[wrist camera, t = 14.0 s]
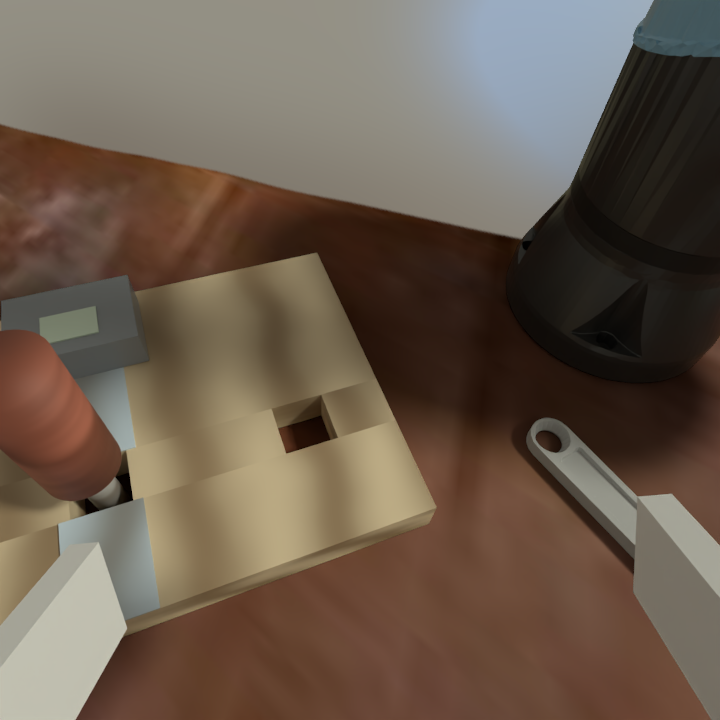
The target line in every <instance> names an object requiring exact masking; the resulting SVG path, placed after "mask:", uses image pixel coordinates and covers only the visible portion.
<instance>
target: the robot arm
mask: <svg viewBox="0 0 720 720" xmlns="http://www.w3.org/2000/svg"><path fill="white" fill-rule="evenodd" d="M633 36H634V39H633V42H634V43H633V46H632V48H631V50H630V52H629V54H628V57H627V59H626V61H625V63H624V66H623V68H622V70H621V73H620V75H619V77H618V79H617V82H616V84H615V86H614V89H613V91H612V93H611V95H610V98H609V100H608V102H607V104H606V106H605V109H604V111H603V113H602V116H601V118H600V120H599V122H598V125H597V127H596V129H595V132H594V134H593V136H592V138H591V141H590V143H589V145H588V148H587V150H586V152H585V154H584V156H583V159H582V161H581V164H580V166H579V168H578V170H577V172H576V175H575V177H574V179H573V181H572V183H571V185H570V187H569V188H568V190H567V191H566V192H565V193H564V194H563V195H562V196H561V197H560V198H559V199H558V200H557V201H556V202H555V203H554V204H553V206H552V207H551V208H550V209H549V210H548V211H547V212H546V213H545V214H544V215H543V216H542V217H541V218H540V219H539V221H538V222H537V223H536V224H535V225H534V226H533V227H532V228H531V229H530V230H529V231H528V232H527V233H526V235H525V236H524V237H523V239H522V240H521V241H520V243H519V245H518V247H517V249H516V251H515V254H514V256H513V259H512V261H511V264H510V266H509V269H508V272H507V277H506V291H507V297H508V300H509V303H510V306H511V308H512V311H513V313H514V315H515V316H516V318H517V320H518V321H519V323H520V324H521V326H522V327H523V328H524V329H525V331H526V332H527V333H528V334H529V335H530V336H531V337H532V338H533V339H534V340H535V341H536V342H537V343H538V344H539V345H540V346H541V347H543V348H544V349H545V350H546V351H548V352H549V353H551V354H552V355H553V356H555V357H557V358H558V359H560V360H561V361H563V362H565V363H567V364H568V365H570V366H572V367H574V368H577V369H579V370H581V371H584V372H586V373H589V374H592V375H595V376H598V377H601V378H605V379H609V380H614V381H621V382H630V383H649V382H657V381H662V380H666V379H670V378H673V377H675V376H678V375H680V374H682V373H684V372H685V371H687V370H688V369H690V368H691V367H692V366H693V365H694V364H695V363H696V362H697V361H698V360H699V359H700V358H701V357H702V356H703V355H704V354H705V353H706V352H707V351H708V350H709V349H710V348H711V347H712V346H713V345H714V343H715V342H716V341H717V339H718V338H719V336H720V0H654V1H653V3H652V5H651V7H650V9H649V11H648V13H647V15H646V17H645V18H644V19H643V20H642V21H641V22H640V23H639V25H638V26H637V28H636V30H635V32H634V35H633ZM633 593H634V594H635V596H636V598H637V599H638V601H639V603H640V604H641V606H642V607H643V609H644V611H645V612H646V614H647V616H648V617H649V619H650V620H651V622H652V624H653V625H654V627H655V629H656V630H657V632H658V633H659V635H660V637H661V638H662V640H663V642H664V643H665V645H666V646H667V648H668V650H669V651H670V653H671V655H672V656H673V658H674V660H675V661H676V663H677V664H678V666H679V668H680V669H681V671H682V673H683V674H684V676H685V677H686V679H687V681H688V682H689V684H690V686H691V687H692V689H693V690H694V692H695V694H696V695H697V697H698V699H699V700H700V702H701V703H702V705H703V707H704V708H705V710H706V712H707V713H708V715H709V716H710V718H711V720H720V545H719V544H718V543H717V542H716V541H715V540H714V539H713V538H712V537H711V536H710V535H709V534H708V532H707V531H706V530H705V529H704V528H703V527H702V526H701V525H700V524H699V523H698V522H697V521H696V520H695V519H694V517H693V516H692V515H691V514H690V513H689V512H688V511H687V510H686V509H685V508H684V507H683V506H682V505H681V503H680V502H679V501H678V500H677V499H676V498H675V497H674V496H673V495H672V494H664V495H652V496H640V497H637V517H636V540H635V562H634V584H633ZM126 630H127V626H126V623H125V620H124V617H123V614H122V611H121V608H120V605H119V602H118V599H117V596H116V593H115V590H114V587H113V584H112V581H111V578H110V575H109V572H108V569H107V566H106V563H105V560H104V557H103V554H102V551H101V548H100V545H99V542H95V543H83V544H71V545H69V546H68V547H67V548H66V549H65V551H64V552H63V553H62V554H61V555H60V556H59V558H58V559H57V560H56V561H55V562H54V563H53V565H52V566H51V567H50V568H49V569H48V570H47V572H46V573H45V574H44V575H43V576H42V577H41V579H40V580H39V581H38V582H37V583H36V584H35V586H34V587H33V588H32V589H31V590H30V591H29V593H28V594H27V595H26V596H25V597H24V598H23V600H22V601H21V602H20V603H19V604H18V605H17V607H16V608H15V609H14V610H13V611H12V612H11V614H10V615H9V616H8V617H7V618H6V619H5V621H4V622H3V623H2V624H1V625H0V720H76V718H77V716H78V714H79V713H80V711H81V709H82V707H83V706H84V704H85V702H86V700H87V699H88V697H89V695H90V693H91V691H92V690H93V688H94V686H95V684H96V683H97V681H98V679H99V677H100V676H101V674H102V672H103V670H104V669H105V667H106V665H107V663H108V661H109V660H110V658H111V656H112V654H113V653H114V651H115V649H116V647H117V646H118V644H119V642H120V640H121V639H122V637H123V635H124V633H125V632H126Z"/></svg>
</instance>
